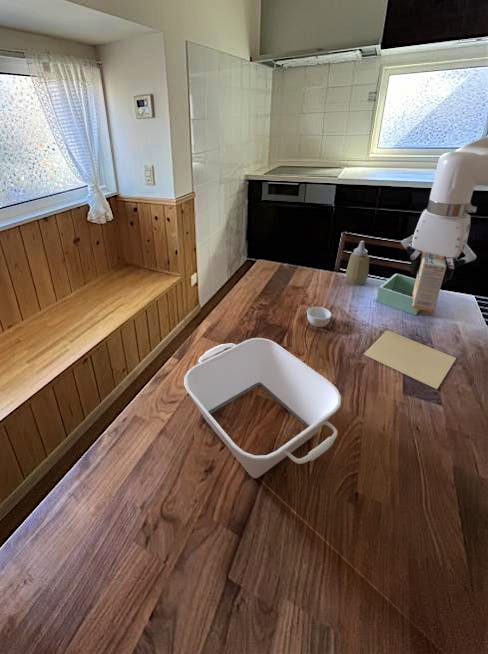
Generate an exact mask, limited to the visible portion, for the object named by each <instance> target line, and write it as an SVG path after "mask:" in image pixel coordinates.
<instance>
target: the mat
mask: <svg viewBox="0 0 488 654" xmlns="http://www.w3.org/2000/svg"><path fill="white" fill-rule="evenodd" d="M363 356H365V357H367V358H370V359H372V360H373V361H376V362H378V363H380V364H383V365H385V366H387V367H389V368H390V369H393V370H395V371H397V372H399V373H401V374H403V375H405V376H408V377H410V378H412V379H414V380H416V381H417V382H420V383H422V384H424V385H425V386H426V385H427V386H429V387H430V388H433V389H434V390H438V389H439V387H440V386H441V384H442V382H443V381H444V379H445V378H446V376H447V374H448V373H449V371H450V370H451V368H452V366H453V365H454V363H455V361H456V360H457V357H455V356H453V355H451V354H448V353H445V352H443V351H440V350H437V349H435V348H433V347H430V346H428V345H425V344H423V343H422V342H421V343H420V342H419V341H416V340H413V339H411V338H408V337H407V336H404V335H401V334H398V333H396V332H393V331H391V330H388V329H386V330H385V331H384V332H383V333H382V334H381V335H380V337H378V338H377V340H376V341H374V343H373V344H371V346H370V347H369V348H368V349H366V351H365V352H364V353H363Z"/></svg>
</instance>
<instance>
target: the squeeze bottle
mask: <svg viewBox="0 0 488 654" xmlns="http://www.w3.org/2000/svg"><path fill="white" fill-rule="evenodd" d="M365 247H366V246H365V241H364V240H360V241H359V244H358V246H357V247H356V248H354V249H353V252H352V253H351V254H350V256H349V259H348V263H347V268H346V271H345V277H346V280H347V282H348V283H349V284H351V285H356V286H360V285H361V286H362V285H364V284H365V283H366V281H367V279H368V278H369V272H370V270H369V269H370V256H369V255H368V250H367V248H365Z"/></svg>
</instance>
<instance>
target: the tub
mask: <svg viewBox="0 0 488 654" xmlns="http://www.w3.org/2000/svg"><path fill="white" fill-rule="evenodd" d="M225 349H226V350H225ZM183 386H184V388H185V390H186V392H187V393H188V395H189V396H190V397H191V399H192V401H193V402H194V404H195V405H196V408H197V409H198V411H199V412H200V413H201V415H202V417H203V418H204V420H205V421H206V422H207V424H208V425H209V427H211V429H212V430H213V431H214V432H215V434H216V435H217V437H218V438H219V439H220V440H221V442H223V444H224V445H225V446H226V447H227V449H228V450H229V451H230V452H231V454H232V455H233V456H234V458H236V460H237V461H238V463H240V465H241V466H242V467H243V469H244V470H245V471H246V472H247V473H248V475H249V476H250V477H251V478H252V479H258V478H260V477H261V476H263V475H264V474H265V473H266V472H268V471H269V470H271V469H272V468H273V467H275V466H276V465H278V464H279V463H280V462H281V461H282V460H284V459H285V458H286V457H288V458H289V459H290V460H291V461H292V462H294V463H295V464H298V465H300V464H302V465H303V464H305V463H308V462H309V461H310V462H312V461H314V460H316V459H317V458H319V457H321V456H322V455H323V454H324V453H325V452H327V451H328V450H329V449H330V448H331V447H332V446H333V444H334V443H335V441H336V439H337V437H338V429H337V428H336V427H335V426H334V425H333V424H332V423H331V422H329V421H328V420H329V419H330V418H331V417H332V416H333V415H335V414H336V413H337V411H338V410H339V409H340V408H341V406H342V395H341V394H340V392H339V390H338V388H337V387H336V386H335V385H334V384H333V383H332V382H331V381H329V380H328V379H327V378H325V377H324V376H323V375H322V374H320V373H318V372H317V371H316V370H315V369H313V368H312V367H310V366H309V365H307V364H306V363H304V362H303V361H302V360H301V359H300V358H298V357H297V356H295V355H294V354H292V353H291V352H289V351H288V350H286V349H285V348H283V347H282V346H281V345H280V344H278V342H275V341H273V340H272V339H268V338H264V337H252V338H249V339H246V340H244V341H242V342H239V343H237V344H236V343H232V342H230V343H222V344H219V345H217V346H214V347H212V348H210V349H208V350H206V351H204V353H203V354H202V355H201V356H200V357H199V358H198V363H197V364H195V365H193V367H190V369H188V370H187V372H186V374H185V375H184V377H183ZM257 387H261V388H262V389H264V391H265V392H266V393H268V394H269V395H270V396H271V397H272V398H273V399H274V400H275V401H277V402H278V403H279V404H280V405H281V406H282V407H283V408H284V409H286V410H287V412H289V413H290V414H291V415H292V416H293V417H294V418H295V419H296V420H298V421H299V422H300V423H301V424H302V425H303V426H304V427H305V428H306V429H304V430H303V431H301V432H300V433H298V434H297V435H296V436H295V437H293V438H292V439H290V440H289V441H288V442H286V443H284V444H283V445H282V446H280V447H279V448H278V449H277V450H275V451H273V452H270V453H268V454H266V455H264V454H263V455H254V454H252V453H249V452H247V451H244V450H243V449H241V448H240V447H239V446H238V445H237V444H236V443H235V442H234V441H233V440H232V439H231V437H230V436H229V435H228V434H227V433H226V430H224V429H223V428H222V426H221V425H220V424H219V423H218V422H217V421H216V419H215V418H214V417H213V416H212V415H211V414H213V413H215V412H216V411H218V410H219V409H221V408H223V407H225V406H226V405H228V404H230V403H232V402H233V401H235V400H236V399H239V397H242V396H244V395H245V394H247V393H248V392H250V391H251V390H254V389H255V388H257ZM325 425H326V426H327V427H328V428H329V429H330V430H332V435H331V436H330V435H329V436H328V437H327V438H326V439H325V440H323V441H322V442H321V443H320V444H318V445H317V446H316V447H314V448H312V449H311V450H310V451H308V453H307V455H304V456H302V457H300V458H298V457H296V456H294V454H293V452H294V451H296V450H297V449H298V448H300V447H301V446H302V445H303V444H305V443H306V442H308V441H309V440H311V438H313V437H314V436H315V435H316V434H317V433H318V431H320V429H322V427H323V426H325Z"/></svg>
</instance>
